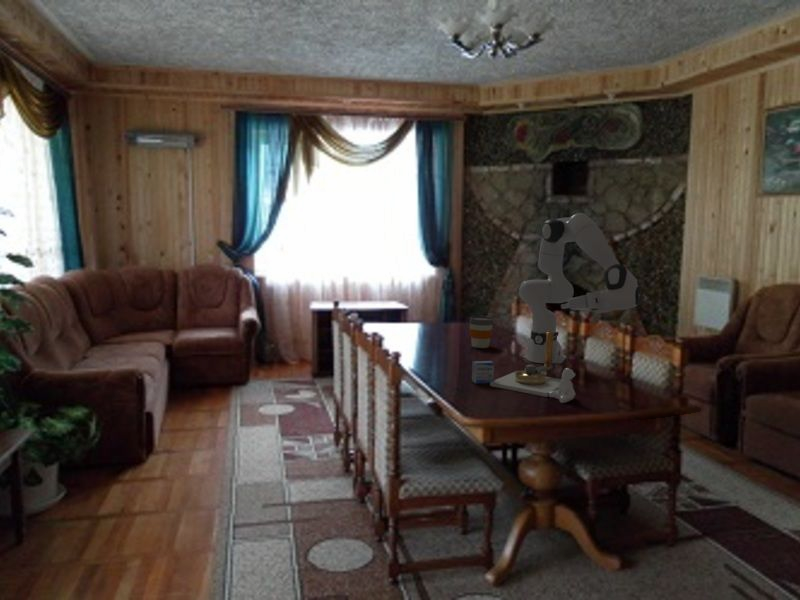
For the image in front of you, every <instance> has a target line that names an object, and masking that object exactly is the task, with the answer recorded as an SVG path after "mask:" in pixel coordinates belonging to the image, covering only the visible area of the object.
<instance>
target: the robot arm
mask: <svg viewBox="0 0 800 600" xmlns="http://www.w3.org/2000/svg"><path fill="white" fill-rule="evenodd" d="M541 236H542V238H541V241H540V245H539V252H538V253H539V254H538V260H537V267H538V269H539V270H540V271H541V273H543V274H546V275H548V276H547V279H529V280H524V281H522V283H521V284H520V286H519V288H518V293H519V297H520V298H521V300H522V301H523V302H524V303H526V305H527V306H528V307H529V309H530V312H531V317H532V324H531V325H532V327H531V329H532V330H531V331H530V340H529V341H528V342H527V346H526V347H527V349H526V354H525V355H524V356H523V358H524V359H526V360H527V361H528V362H532V363H537V364H545V349H546V332H553V333H554V339H553V355H552V364H562V363H563V362H564V361H565V360H566V359H567V356H566V355H564V354H562V350H563V349H562V345H561V344H560V342H559V341H558V336H559V334H560V333H559V331H557V319H558V318H557V315H556V314H555V313H554V312H553V311H551V310H550V309H547V307H546V304H560V308H561V309H562V310H565V309H569V310H570V311H582V312H594V313H595V314H605V313H609V312H612V311H623V310H628V309H632V308H635V307H637V306H639V305H640V304H641V302H642V301H643V300H642V299H643V290H642V288H641V287H642V286H641V281H640V280H639V279H638V278H637V277H635V276H634V274H633V273H632V272H631V271H630V270H629V269H628V268H627V267H626V266H625V265H624V264H620V262H619V261H618V260H617V258H616V257H615V255H614V253H613V252H612V249H611V247H610V245H609V244H608V241H607V239H606V238H605V235H604V233H603V231H602V230H601V229H600V227H599V226H598V225H597V224H596V222H595V221H594V220H593V219H592V218H591V217H589V216H588V215H587V214H586V213H584V212H577V213H575V214H573V215H572V216H569V217H565V216H564V217H560V218H551V219H547V220H546V221H544V223H543V224H542V226H541ZM573 242H575V243H576V245H577V246H578V247H579V248H580V249H581V250H582V251H583V252H584V253H585V254H586V255H588V256H589V257H590V258H591V259H592V260H594V261H595V262H596V263H598V264H599V265H600V266H601V267H602V268H603V270H604V277H603V278H604V284H605V286H606V289H602V290H596V291H592V292H591V291H590V292H586V294H584V295H579V296H575V297H573V296H574V290H575V289H574V287H573V284H572V283H571V282H570V281H569V280H568V279H567V278H566V277H565V275H564V270H563V267H564V266H563V263H564V255H565V245H566V244H567V243H573Z"/></svg>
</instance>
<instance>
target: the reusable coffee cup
mask: <svg viewBox="0 0 800 600" xmlns="http://www.w3.org/2000/svg"><path fill="white" fill-rule="evenodd" d="M493 325H494V318H493V317H488V316H470V317H469V336H470V339H471V340H470V341H471V347H473V348H477V349H487V348H489V347H490V341H491V339H492V336H493V335H492V334H493Z"/></svg>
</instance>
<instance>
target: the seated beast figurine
mask: <svg viewBox="0 0 800 600" xmlns="http://www.w3.org/2000/svg"><path fill="white" fill-rule="evenodd" d="M575 377H576V372H574V371H573V369H571V368H569V367H565V368H564V370H563V372H561V378H560V379H561V382H560V383H559V390H558V391H551V392H549V396H548V397H549V398H551V399H552V398H553V399H555V400H556V399H557V400H559V402H560V404H561V403H562V404H565V403H567V402H570V401H573V400H574V398H575V396H576V395H577V394H576V392H575V388H574V387H573V386H574V384H573V383H572V381H571V380H572V379H573V378H575Z"/></svg>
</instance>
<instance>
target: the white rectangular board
mask: <svg viewBox="0 0 800 600" xmlns="http://www.w3.org/2000/svg"><path fill="white" fill-rule="evenodd" d="M525 368H526V373H527V374H536V368H537V365H535V364H526V365H525ZM515 376H516V374H515V371H513V372H511V373H509V374H506V375H504V376H501V377H499V378H496V379H493V381H492V382H490V383H489V386H490V387H492V388H493V387H494V388H500V389H503V390H509V391H514V392H519V393H524V394H529V395H535V396H539V397H544V398H547V397H549V392H551V391H558V390H559V383H560V382H561V379H562V378H556V377H555V378H554V377H550V376H546V382H545V384H542V385H526V384H521V383H518V382H516V381H515Z"/></svg>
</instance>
